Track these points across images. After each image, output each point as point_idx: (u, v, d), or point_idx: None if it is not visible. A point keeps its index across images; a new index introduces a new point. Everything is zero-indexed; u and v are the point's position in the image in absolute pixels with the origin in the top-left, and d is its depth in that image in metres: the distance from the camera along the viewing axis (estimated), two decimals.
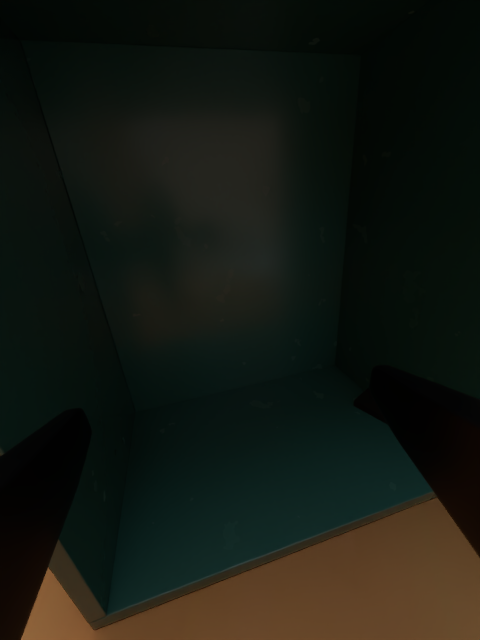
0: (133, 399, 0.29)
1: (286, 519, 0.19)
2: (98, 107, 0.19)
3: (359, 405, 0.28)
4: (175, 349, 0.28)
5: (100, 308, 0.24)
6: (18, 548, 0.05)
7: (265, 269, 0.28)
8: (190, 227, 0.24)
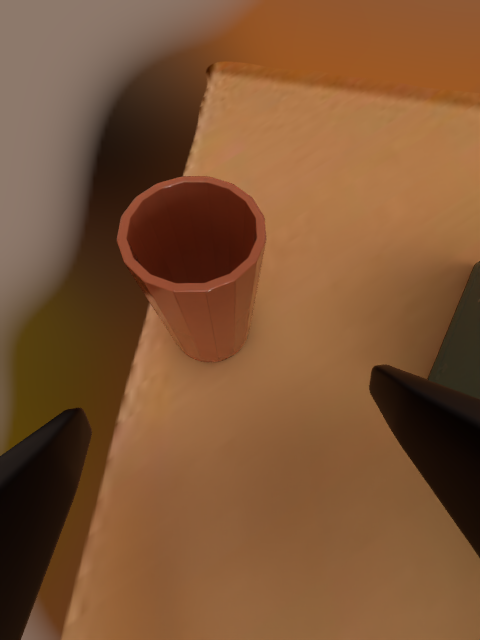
0: None
1: None
2: None
3: None
4: None
5: None
6: (18, 548, 0.05)
7: None
8: None
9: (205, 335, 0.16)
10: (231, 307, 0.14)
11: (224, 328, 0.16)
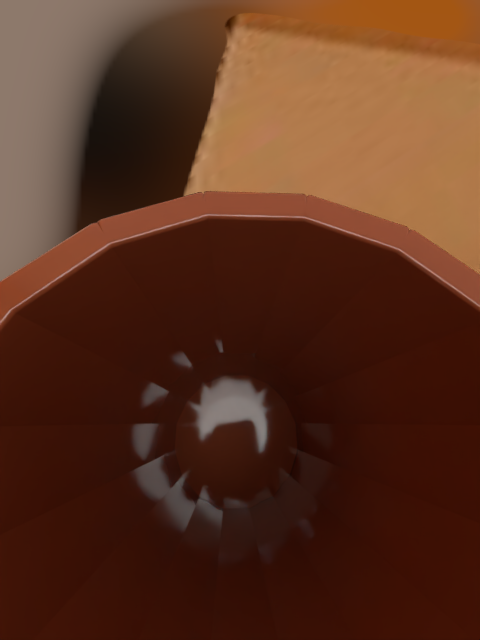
0: None
1: None
2: None
3: None
4: None
5: None
6: None
7: None
8: None
9: None
10: None
11: None
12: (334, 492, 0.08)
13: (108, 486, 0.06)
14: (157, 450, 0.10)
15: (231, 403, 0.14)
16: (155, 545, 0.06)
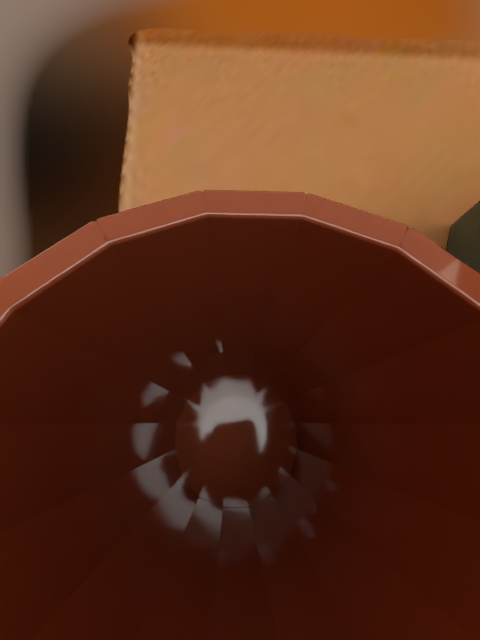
0: None
1: None
2: None
3: None
4: None
5: None
6: None
7: None
8: None
9: None
10: None
11: None
12: (334, 491, 0.08)
13: (108, 485, 0.06)
14: (156, 450, 0.10)
15: (231, 403, 0.14)
16: (155, 544, 0.06)
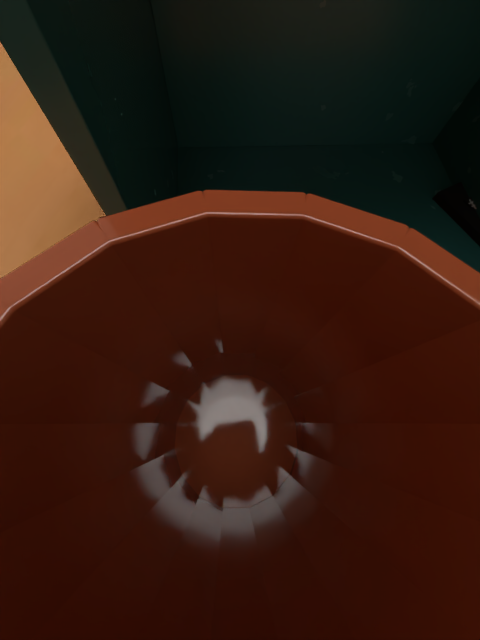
0: (176, 128, 0.24)
1: None
2: None
3: (440, 199, 0.24)
4: (239, 52, 0.19)
5: None
6: None
7: None
8: None
9: None
10: None
11: None
12: (334, 491, 0.08)
13: (108, 485, 0.06)
14: (157, 450, 0.10)
15: (231, 403, 0.14)
16: (155, 544, 0.06)
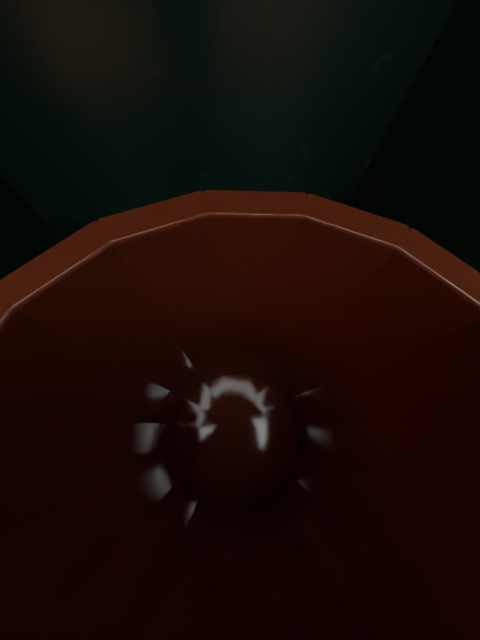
0: (34, 207, 0.20)
1: None
2: None
3: None
4: (71, 129, 0.15)
5: None
6: None
7: None
8: None
9: None
10: None
11: None
12: (334, 491, 0.08)
13: (108, 485, 0.06)
14: (157, 450, 0.10)
15: (231, 403, 0.14)
16: (155, 544, 0.06)
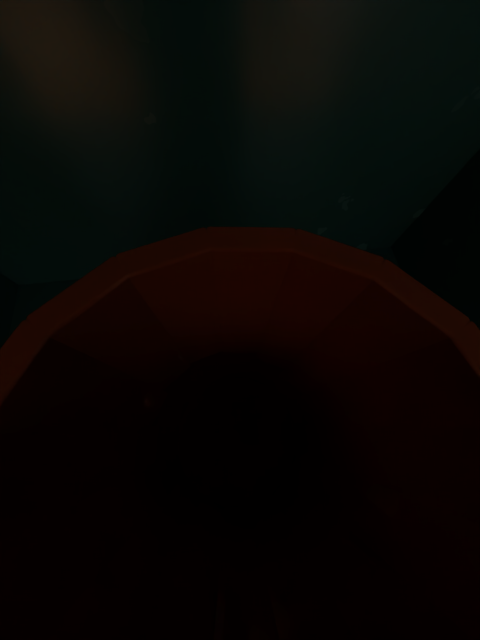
0: None
1: None
2: None
3: None
4: (34, 188, 0.11)
5: None
6: None
7: None
8: None
9: None
10: None
11: None
12: (328, 489, 0.08)
13: (119, 484, 0.06)
14: (161, 451, 0.10)
15: (231, 405, 0.14)
16: (162, 538, 0.07)
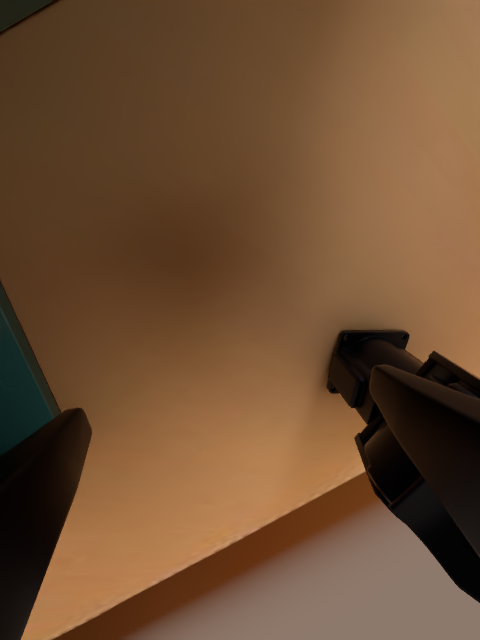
0: None
1: None
2: None
3: None
4: None
5: None
6: (18, 548, 0.05)
7: None
8: None
9: None
10: None
11: None
12: None
13: None
14: None
15: None
16: None
